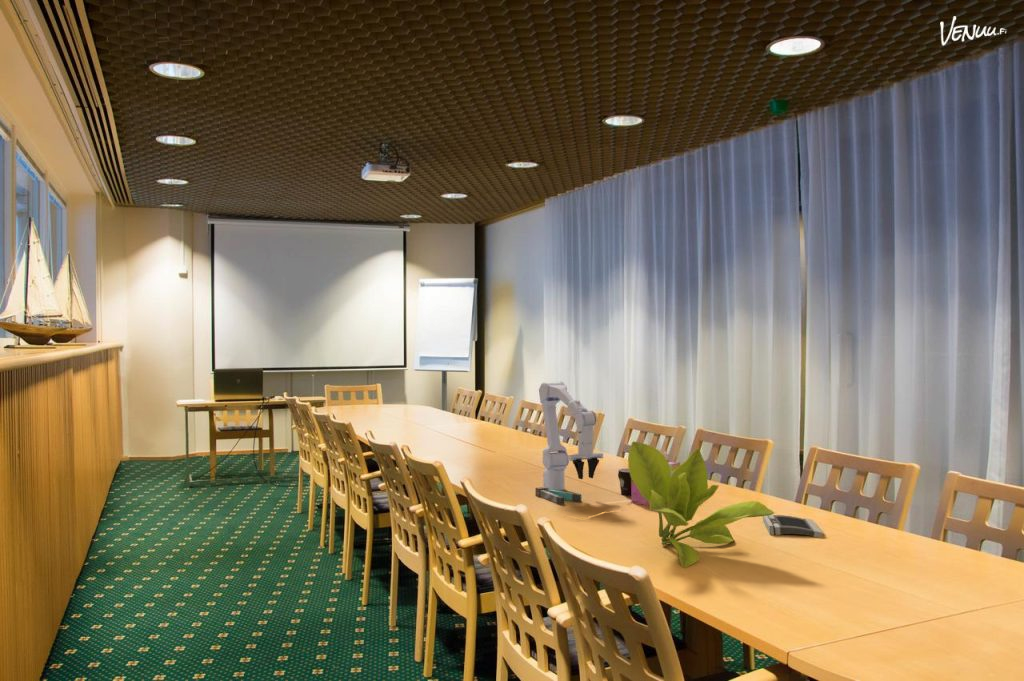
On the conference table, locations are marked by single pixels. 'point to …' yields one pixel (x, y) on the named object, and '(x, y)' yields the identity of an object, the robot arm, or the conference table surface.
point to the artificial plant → (684, 499)
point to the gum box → (636, 494)
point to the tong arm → (567, 495)
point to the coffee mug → (625, 481)
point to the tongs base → (548, 495)
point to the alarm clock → (791, 525)
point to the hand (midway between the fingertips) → (585, 478)
